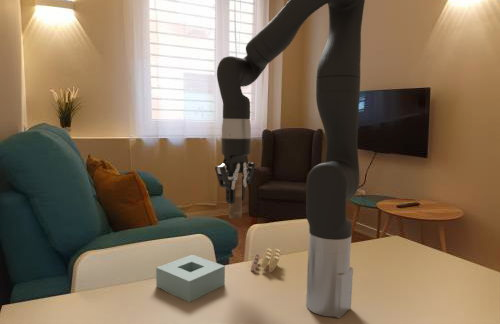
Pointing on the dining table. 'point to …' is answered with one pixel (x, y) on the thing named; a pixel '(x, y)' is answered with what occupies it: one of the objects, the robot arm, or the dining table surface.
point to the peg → (236, 200)
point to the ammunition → (267, 260)
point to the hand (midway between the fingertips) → (235, 201)
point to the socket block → (190, 277)
